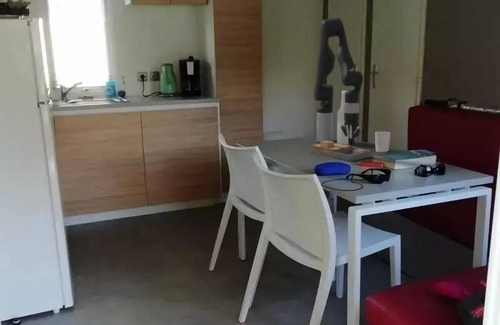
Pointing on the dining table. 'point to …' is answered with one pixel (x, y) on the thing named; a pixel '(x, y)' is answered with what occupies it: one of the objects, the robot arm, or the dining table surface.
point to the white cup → (382, 141)
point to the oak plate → (328, 149)
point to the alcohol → (341, 123)
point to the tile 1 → (327, 144)
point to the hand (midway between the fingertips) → (351, 145)
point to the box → (350, 154)
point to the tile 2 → (358, 151)
